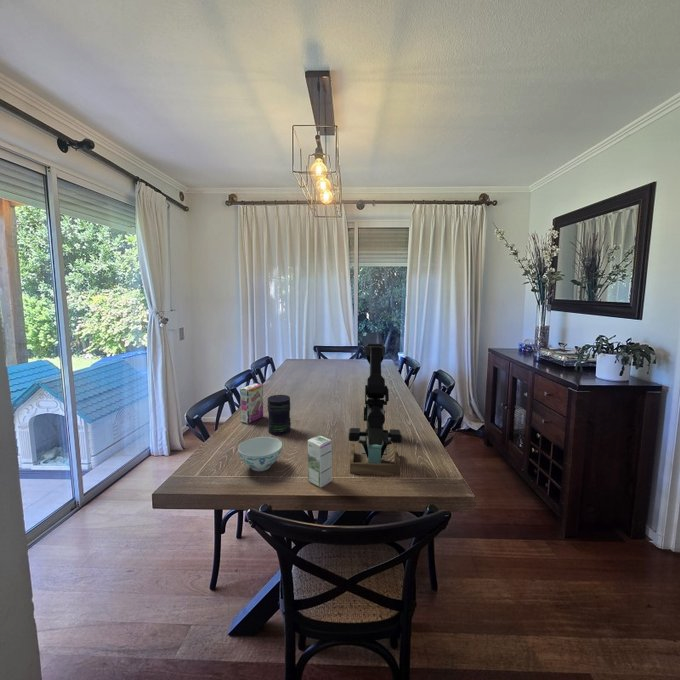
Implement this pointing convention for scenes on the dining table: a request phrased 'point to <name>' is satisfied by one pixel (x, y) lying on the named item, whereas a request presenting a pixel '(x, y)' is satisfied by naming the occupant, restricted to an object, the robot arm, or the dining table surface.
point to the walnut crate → (375, 466)
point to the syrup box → (319, 461)
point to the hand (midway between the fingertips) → (374, 457)
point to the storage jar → (279, 414)
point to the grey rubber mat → (365, 452)
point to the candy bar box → (251, 403)
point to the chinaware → (260, 452)
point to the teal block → (374, 453)
